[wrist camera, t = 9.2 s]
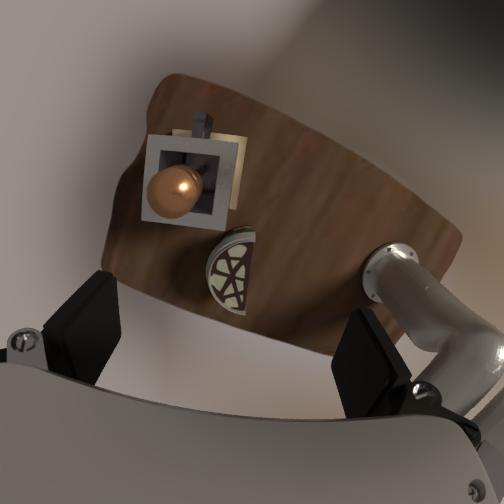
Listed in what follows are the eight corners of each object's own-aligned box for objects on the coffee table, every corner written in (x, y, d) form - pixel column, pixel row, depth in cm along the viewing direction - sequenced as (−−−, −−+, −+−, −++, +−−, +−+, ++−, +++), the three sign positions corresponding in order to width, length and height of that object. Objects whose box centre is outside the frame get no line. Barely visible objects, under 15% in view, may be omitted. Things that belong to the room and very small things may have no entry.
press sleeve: (242, 123, 38) (242, 114, 25) (230, 202, 42) (225, 231, 29) (181, 117, 37) (152, 106, 24) (171, 195, 41) (141, 220, 28)
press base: (247, 137, 40) (247, 137, 38) (236, 206, 44) (235, 209, 42) (175, 129, 39) (172, 129, 37) (168, 198, 43) (164, 200, 41)
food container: (214, 212, 45) (206, 232, 35) (253, 216, 45) (255, 237, 36) (209, 281, 49) (202, 314, 40) (244, 285, 50) (244, 318, 40)
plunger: (224, 153, 39) (207, 164, 20) (219, 188, 41) (199, 230, 22) (188, 149, 38) (142, 158, 20) (184, 184, 40) (138, 222, 22)
